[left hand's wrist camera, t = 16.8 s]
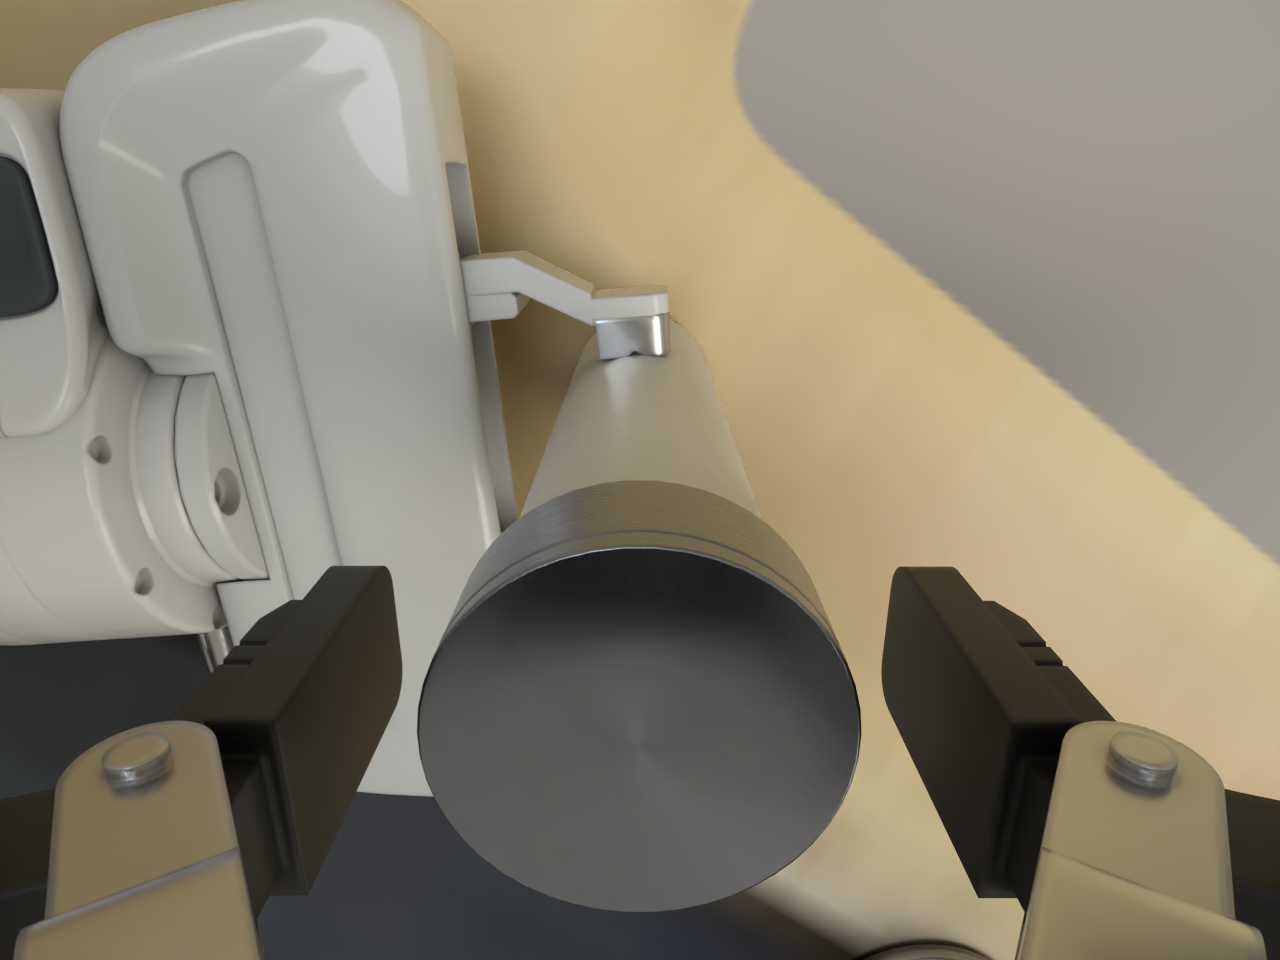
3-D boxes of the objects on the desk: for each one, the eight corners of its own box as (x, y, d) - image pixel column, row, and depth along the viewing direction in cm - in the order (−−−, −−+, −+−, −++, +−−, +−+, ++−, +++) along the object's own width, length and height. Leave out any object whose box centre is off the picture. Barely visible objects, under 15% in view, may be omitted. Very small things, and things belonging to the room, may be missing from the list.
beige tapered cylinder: (576, 439, 27) (470, 842, 10) (576, 311, 25) (450, 543, 9) (703, 442, 27) (800, 850, 10) (710, 314, 25) (835, 550, 9)
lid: (771, 822, 12) (795, 941, 10) (435, 767, 11) (396, 879, 10) (871, 518, 10) (922, 593, 8) (480, 444, 10) (442, 504, 8)
